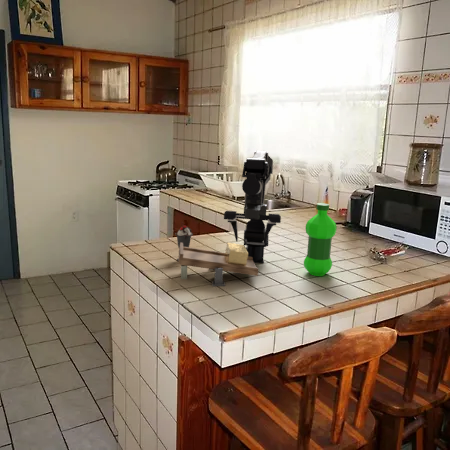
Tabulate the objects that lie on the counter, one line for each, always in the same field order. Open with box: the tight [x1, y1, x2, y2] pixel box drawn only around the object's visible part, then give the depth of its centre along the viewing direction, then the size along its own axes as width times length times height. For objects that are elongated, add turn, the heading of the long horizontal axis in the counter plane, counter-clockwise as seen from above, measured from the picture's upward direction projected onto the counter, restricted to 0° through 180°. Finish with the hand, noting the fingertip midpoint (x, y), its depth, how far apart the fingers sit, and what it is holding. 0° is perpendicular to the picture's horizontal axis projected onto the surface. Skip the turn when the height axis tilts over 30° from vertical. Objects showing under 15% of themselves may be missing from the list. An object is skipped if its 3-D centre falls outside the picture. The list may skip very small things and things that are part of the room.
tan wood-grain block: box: [224, 242, 248, 266], centre depth 154 cm, size 6×10×5 cm, turn 6°
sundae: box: [174, 221, 194, 262], centre depth 169 cm, size 7×7×15 cm
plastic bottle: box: [303, 202, 338, 277], centre depth 158 cm, size 10×10×25 cm
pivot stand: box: [180, 265, 226, 287], centre depth 153 cm, size 14×19×6 cm
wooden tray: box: [178, 242, 260, 277], centre depth 153 cm, size 26×15×4 cm, turn 96°
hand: (250, 242), depth 153 cm, fingers open, 9 cm apart
